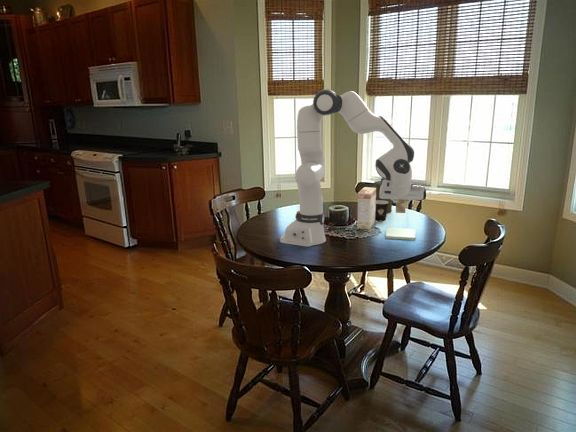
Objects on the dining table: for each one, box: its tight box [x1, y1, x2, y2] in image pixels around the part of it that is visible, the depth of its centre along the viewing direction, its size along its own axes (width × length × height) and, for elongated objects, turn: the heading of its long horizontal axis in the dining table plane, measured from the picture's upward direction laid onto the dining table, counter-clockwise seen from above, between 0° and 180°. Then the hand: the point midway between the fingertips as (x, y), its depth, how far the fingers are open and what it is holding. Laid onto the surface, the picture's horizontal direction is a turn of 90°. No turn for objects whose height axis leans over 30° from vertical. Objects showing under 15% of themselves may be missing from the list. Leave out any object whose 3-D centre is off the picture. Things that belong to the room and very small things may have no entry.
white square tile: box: [384, 227, 416, 241], centre depth 212 cm, size 14×14×1 cm
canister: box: [373, 177, 393, 214], centre depth 253 cm, size 11×10×20 cm
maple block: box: [395, 199, 407, 214], centre depth 204 cm, size 4×4×9 cm
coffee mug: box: [375, 200, 388, 222], centre depth 238 cm, size 12×9×10 cm
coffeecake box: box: [356, 186, 376, 231], centre depth 226 cm, size 15×7×20 cm, turn 157°
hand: (400, 201), depth 205 cm, fingers closed on maple block, 4 cm apart
